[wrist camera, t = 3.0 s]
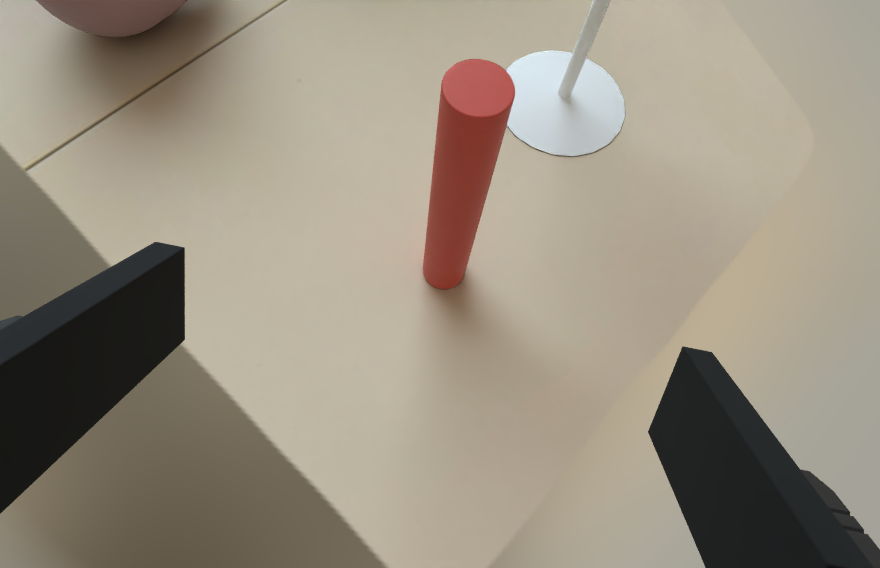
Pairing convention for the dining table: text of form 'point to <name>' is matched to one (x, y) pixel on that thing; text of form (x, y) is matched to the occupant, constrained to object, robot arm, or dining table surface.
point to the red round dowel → (464, 163)
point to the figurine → (111, 14)
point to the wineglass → (566, 97)
